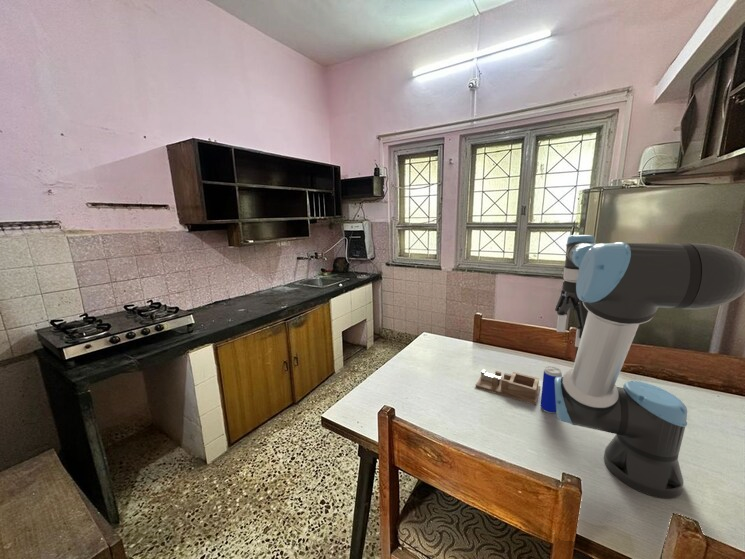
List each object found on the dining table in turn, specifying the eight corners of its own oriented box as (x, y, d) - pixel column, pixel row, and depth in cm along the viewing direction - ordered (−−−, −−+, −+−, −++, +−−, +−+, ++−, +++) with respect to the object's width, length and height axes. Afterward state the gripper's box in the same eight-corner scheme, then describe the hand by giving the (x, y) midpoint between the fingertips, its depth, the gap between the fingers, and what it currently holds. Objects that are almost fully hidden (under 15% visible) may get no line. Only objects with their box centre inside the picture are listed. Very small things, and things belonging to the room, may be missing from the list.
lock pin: (499, 384, 115) (499, 377, 115) (480, 379, 119) (481, 372, 119) (500, 381, 118) (501, 373, 117) (482, 376, 122) (483, 369, 121)
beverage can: (552, 404, 104) (557, 366, 101) (560, 414, 99) (565, 374, 96) (537, 404, 105) (541, 365, 102) (544, 413, 100) (548, 373, 97)
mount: (535, 405, 104) (536, 392, 103) (475, 387, 116) (476, 375, 115) (539, 388, 114) (541, 376, 113) (483, 373, 126) (484, 362, 125)
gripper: (611, 288, 88) (602, 354, 93) (569, 273, 113) (564, 326, 117) (584, 288, 90) (576, 353, 94) (548, 273, 114) (543, 326, 118)
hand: (569, 338), depth 105 cm, fingers open, 13 cm apart
